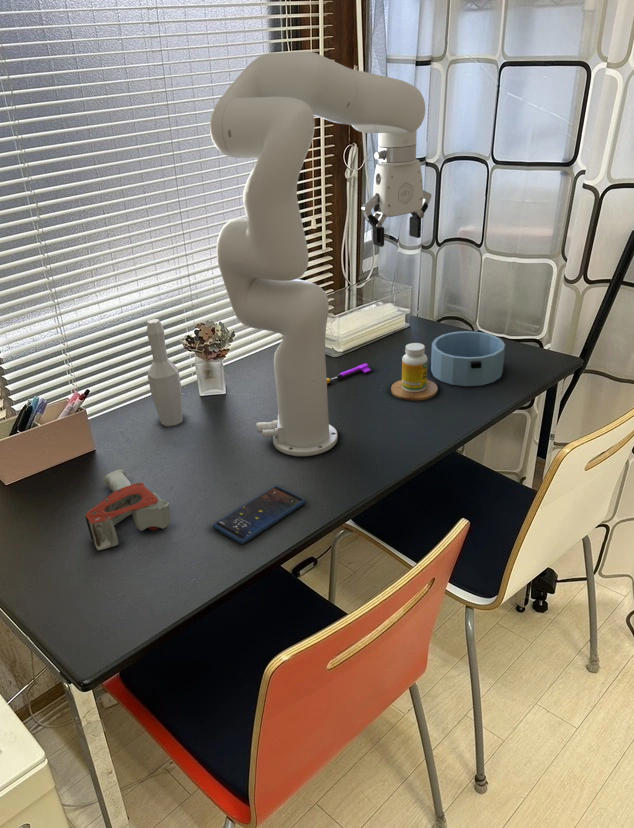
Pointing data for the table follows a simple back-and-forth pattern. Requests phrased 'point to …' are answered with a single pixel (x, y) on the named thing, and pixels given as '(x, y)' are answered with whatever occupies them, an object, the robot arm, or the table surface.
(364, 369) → the pneumatic cylinder
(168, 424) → the faceted bottle
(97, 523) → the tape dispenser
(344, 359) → the table surface
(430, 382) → the coaster
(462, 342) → the bowl
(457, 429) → the table surface
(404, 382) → the supplement bottle
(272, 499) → the smartphone
